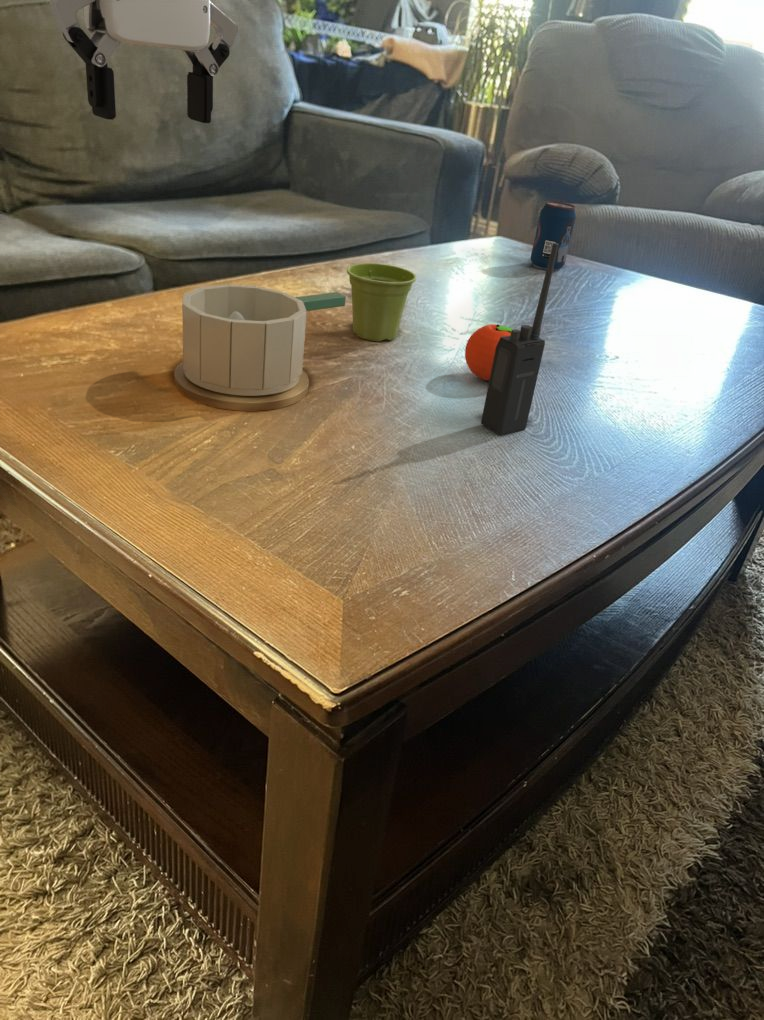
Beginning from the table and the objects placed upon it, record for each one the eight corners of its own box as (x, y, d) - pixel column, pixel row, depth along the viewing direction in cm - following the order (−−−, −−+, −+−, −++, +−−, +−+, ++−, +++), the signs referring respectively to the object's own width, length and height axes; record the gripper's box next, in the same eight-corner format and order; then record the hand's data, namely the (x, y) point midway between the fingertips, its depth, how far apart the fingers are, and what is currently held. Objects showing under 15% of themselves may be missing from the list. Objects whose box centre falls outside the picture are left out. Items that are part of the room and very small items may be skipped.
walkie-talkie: (506, 416, 89) (546, 238, 79) (527, 428, 87) (571, 246, 77) (476, 423, 87) (514, 239, 76) (497, 436, 85) (538, 248, 74)
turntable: (222, 422, 79) (223, 413, 79) (149, 371, 88) (148, 362, 88) (335, 394, 89) (335, 386, 88) (258, 351, 97) (258, 343, 97)
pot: (369, 373, 92) (377, 307, 88) (224, 404, 80) (225, 329, 76) (303, 337, 100) (308, 275, 96) (161, 361, 88) (159, 290, 83)
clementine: (518, 372, 102) (529, 320, 99) (526, 393, 96) (539, 338, 93) (458, 365, 102) (467, 312, 98) (462, 386, 96) (473, 330, 92)
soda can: (531, 260, 160) (545, 198, 154) (565, 266, 159) (580, 205, 152) (526, 266, 154) (540, 203, 148) (561, 273, 153) (576, 210, 147)
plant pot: (332, 338, 105) (338, 273, 100) (351, 319, 113) (357, 258, 108) (399, 351, 104) (408, 287, 99) (413, 331, 112) (422, 270, 107)
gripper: (213, -92, 71) (211, 116, 80) (20, -138, 60) (43, 109, 69) (261, -92, 66) (254, 128, 75) (62, -142, 56) (81, 122, 64)
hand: (153, 119), depth 72 cm, fingers open, 9 cm apart
